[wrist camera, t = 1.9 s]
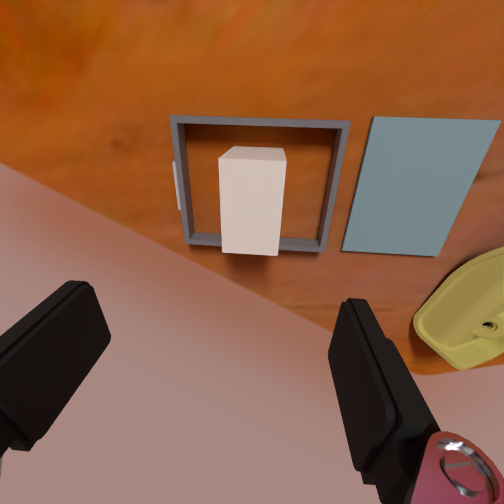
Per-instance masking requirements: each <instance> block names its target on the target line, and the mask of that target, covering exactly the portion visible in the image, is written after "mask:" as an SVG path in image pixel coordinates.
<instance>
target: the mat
mask: <svg viewBox="0 0 504 504" xmlns="http://www.w3.org/2000/svg"><path fill="white" fill-rule="evenodd" d="M501 121H502V120H470V119H437V118H405V117H372V120H371V125H370V129H369V133H368V137H367V141H366V146H365V150H364V154H363V158H362V163H361V167H360V171H359V175H358V179H357V184H356V188H355V192H354V196H353V200H352V205H351V209H350V213H349V217H348V222H347V226H346V230H345V234H344V238H343V243H342V247H341V249H342V251H358V252H374V253H390V254H407V255H423V256H438V255H439V253H440V250H441V248H442V246H443V244H444V242H445V240H446V238H447V235H448V233H449V231H450V229H451V227H452V225H453V223H454V221H455V218H456V216H457V214H458V212H459V210H460V208H461V206H462V204H463V201H464V199H465V197H466V195H467V193H468V191H469V189H470V187H471V184H472V182H473V180H474V178H475V176H476V174H477V172H478V170H479V167H480V165H481V163H482V161H483V159H484V157H485V155H486V153H487V150H488V148H489V146H490V144H491V142H492V140H493V138H494V135H495V133H496V131H497V129H498V127H499V125H500V123H501Z"/></svg>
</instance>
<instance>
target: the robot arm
mask: <svg viewBox="0 0 504 504" xmlns="http://www.w3.org/2000/svg"><path fill="white" fill-rule="evenodd" d="M110 339H111V334H110V331H109V329H108V326H107V323H106V320H105V318H104V315H103V312H102V310H101V307H100V305H99V302H98V299H97V296H96V294H95V291H94V288H93V287H92V286H90V284H89V283H88V282H85V281H73V280H71V281H68V282H66V283H64V284H63V285H62V286H61V287H60V288H58V289H57V290H56V291H55V292H54V293H52V294H51V295H50V296H49V297H47V298H46V299H45V300H44V301H43V302H41V303H40V304H39V305H38V306H36V307H35V308H34V309H33V310H32V311H30V312H29V313H28V314H27V315H25V316H24V317H23V318H22V319H21V320H19V321H18V322H17V323H16V324H15V325H13V326H12V327H11V328H10V329H8V330H7V331H6V332H5V333H4V334H2V335H1V336H0V475H1V466H2V457H3V454H4V453H5V451H6V450H7V449H8V447H10V448H11V449H12V450H20V451H30V450H31V448H32V447H33V445H34V444H35V442H36V441H37V440H39V439H41V438H42V437H43V436H44V435H45V434H46V432H47V431H48V430H49V428H50V427H51V425H52V424H53V423H54V421H55V420H56V418H57V417H58V415H59V414H60V413H61V411H62V410H63V408H64V407H65V405H66V404H67V403H68V401H69V400H70V398H71V397H72V396H73V394H74V393H75V391H76V390H77V388H78V387H79V386H80V384H81V383H82V381H83V380H84V378H85V377H86V376H87V374H88V373H89V371H90V370H91V368H92V367H93V366H94V364H95V363H96V362H97V360H98V358H99V357H100V356H101V354H102V353H103V352H104V350H105V349H106V347H107V346H108V344H109V343H110ZM328 359H329V364H330V369H331V372H332V377H333V381H334V385H335V389H336V394H337V398H338V403H339V407H340V411H341V415H342V419H343V424H344V428H345V432H346V437H347V441H348V445H349V449H350V453H351V457H352V462H353V465H354V468H355V470H356V471H360V472H361V476H362V480H363V483H364V484H369V485H376V488H377V492H378V495H379V499H380V502H381V503H382V504H504V478H503V476H502V474H501V473H500V471H499V470H498V469H497V467H496V466H495V464H494V463H493V461H492V460H491V459H490V458H489V457H488V456H487V455H486V454H485V453H484V452H483V451H482V450H481V449H480V448H478V447H477V446H476V445H474V444H473V443H472V442H471V441H469V440H467V439H465V438H464V437H462V436H460V435H458V434H455V433H451V432H448V431H441V430H440V428H439V426H438V424H437V422H436V420H435V419H434V417H433V415H432V413H431V411H430V409H429V407H428V406H427V404H426V402H425V400H424V398H423V396H422V394H421V393H420V391H419V389H418V387H417V385H416V383H415V381H414V380H413V378H412V376H411V374H410V372H409V370H408V368H407V367H406V365H405V363H404V361H403V359H402V357H401V355H400V354H399V352H398V350H397V348H396V346H395V344H394V343H393V342H392V341H391V340H390V339H388V338H386V337H385V335H384V333H383V331H382V329H381V327H380V325H379V324H378V322H377V320H376V318H375V316H374V314H373V312H372V310H371V308H370V306H369V304H368V302H367V301H366V300H365V299H355V298H348V299H347V301H346V302H342V303H341V307H340V310H339V314H338V318H337V321H336V325H335V329H334V332H333V336H332V339H331V343H330V347H329V351H328Z"/></svg>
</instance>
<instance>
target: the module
mask: <svg viewBox="0 0 504 504" xmlns="http://www.w3.org/2000/svg"><path fill="white" fill-rule="evenodd" d="M286 162H287V161H286V157H285V153H284V150H283V148H270V147H244V146H234V147H232V148H231V149H230V150H228V151H227V152H226V153H225V154H223V155H222V156H221V157H220V158H219V184H220V210H221V235H222V252H224V253H239V254H255V255H271V256H278V248H279V238H280V227H281V216H282V205H283V194H284V184H285V173H286Z"/></svg>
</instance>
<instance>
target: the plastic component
mask: <svg viewBox="0 0 504 504" xmlns="http://www.w3.org/2000/svg"><path fill="white" fill-rule="evenodd" d="M485 322H489V323H487V324H485V325H484V326H483V325H482V324H483V323H485ZM413 325H414V329H415V331H416V333H417V334H418V336H419V337H420V338H421V339H422V340H423V341H424V342H426V343H427V344H428V345H429V346H430V347H431V348H432V349H433V350H435V351H436V352H437V353H438V354H439V355H440V356H441V357H443V358H444V359H445V360H446V361H447V362H448V363H449V364H451V365H452V366H453V367H455V368H457V369H459V370H462V371H464V370H467V369H469V368H472V367H474V366H477V365H479V364H482V363H484V362H487V361H489V360H491V359H493V358H495V357H497V356H498V355H500V354H502V353H503V352H504V247H501V248H497V249H495V250H492V251H490V252H487V253H484V254H482V255H479V256H478V257H476V258H474V259H472V260H470V261H468V262H467V263H465V264H464V265H462V266H461V267H459V268H458V269H457V270H456V271H454V272H453V273H452V274H451V275H450V276H449V277H448V278H447V279H446V280H445V281H444V282H443V283H442V285H441V286H440V287H439V288H438V289H437V290H436V291H435V292H434V294H433V295H432V296H431V297H430V298H429V299H428V300H427V301H426V303H425V304H424V305H423V306H422V307H421V308H420V309H419V310H418V312H417V313H416V314H415V315H414V318H413Z"/></svg>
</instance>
